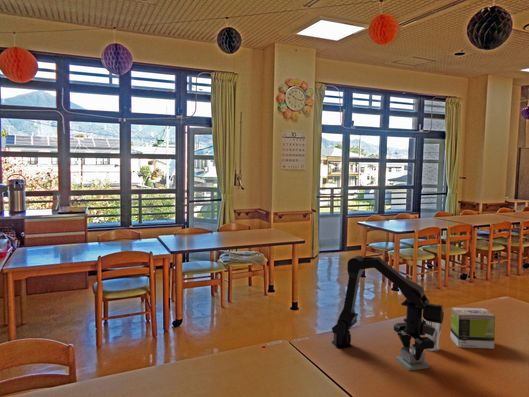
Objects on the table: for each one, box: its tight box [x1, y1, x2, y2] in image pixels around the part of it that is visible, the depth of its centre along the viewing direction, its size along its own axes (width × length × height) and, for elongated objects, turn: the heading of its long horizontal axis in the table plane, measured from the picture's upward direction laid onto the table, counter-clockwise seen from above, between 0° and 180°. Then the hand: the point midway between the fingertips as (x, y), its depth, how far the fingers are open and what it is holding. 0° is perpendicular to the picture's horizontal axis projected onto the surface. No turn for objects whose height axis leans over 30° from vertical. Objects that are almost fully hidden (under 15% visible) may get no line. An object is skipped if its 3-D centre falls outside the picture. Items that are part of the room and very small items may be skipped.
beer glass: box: [423, 318, 443, 352], centre depth 175 cm, size 7×7×15 cm
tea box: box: [450, 306, 496, 350], centre depth 179 cm, size 15×10×15 cm, turn 84°
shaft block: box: [395, 348, 430, 371], centre depth 161 cm, size 9×9×6 cm
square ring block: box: [399, 345, 426, 363], centre depth 161 cm, size 6×6×4 cm
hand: (412, 356), depth 161 cm, fingers closed on square ring block, 6 cm apart
